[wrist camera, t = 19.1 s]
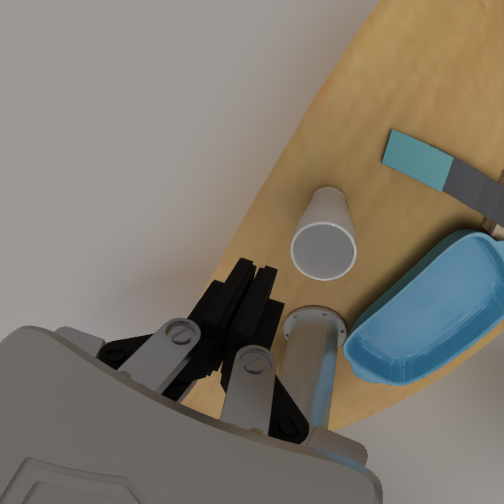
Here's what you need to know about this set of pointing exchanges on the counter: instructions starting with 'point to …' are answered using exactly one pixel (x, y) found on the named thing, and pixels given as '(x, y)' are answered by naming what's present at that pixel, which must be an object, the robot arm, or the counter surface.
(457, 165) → the domino
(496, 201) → the domino
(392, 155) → the domino teal
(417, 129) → the counter surface
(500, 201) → the domino
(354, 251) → the drinking glass
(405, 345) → the casserole dish
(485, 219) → the oak block
